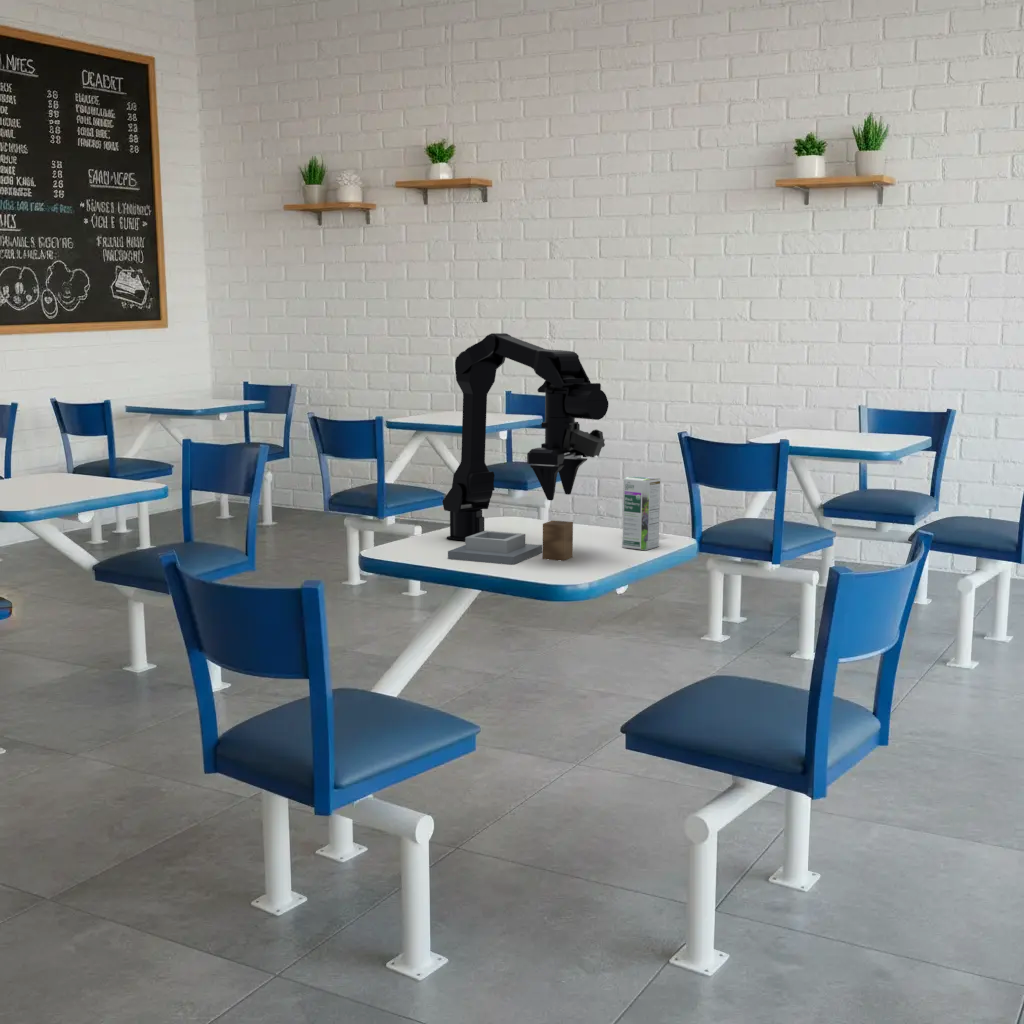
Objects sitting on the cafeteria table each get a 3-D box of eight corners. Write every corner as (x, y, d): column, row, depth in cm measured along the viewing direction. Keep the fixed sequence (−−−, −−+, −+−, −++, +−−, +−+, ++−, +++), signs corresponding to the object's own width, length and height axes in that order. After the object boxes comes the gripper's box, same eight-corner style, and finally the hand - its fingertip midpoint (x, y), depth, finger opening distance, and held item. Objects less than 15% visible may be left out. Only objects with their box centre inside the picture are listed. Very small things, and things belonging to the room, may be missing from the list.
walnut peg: (542, 559, 237) (542, 523, 236) (551, 555, 241) (551, 520, 240) (564, 561, 236) (564, 525, 235) (572, 557, 240) (572, 522, 239)
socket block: (447, 558, 237) (447, 538, 237) (479, 547, 250) (479, 527, 249) (513, 564, 232) (513, 543, 231) (542, 552, 244) (542, 532, 244)
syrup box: (621, 547, 250) (622, 477, 247) (636, 543, 254) (637, 474, 252) (645, 551, 246) (646, 479, 244) (659, 546, 251) (661, 477, 249)
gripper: (582, 421, 223) (581, 506, 225) (615, 415, 240) (614, 493, 242) (526, 419, 227) (525, 502, 230) (562, 413, 244) (562, 490, 247)
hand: (559, 497), depth 237 cm, fingers open, 9 cm apart
